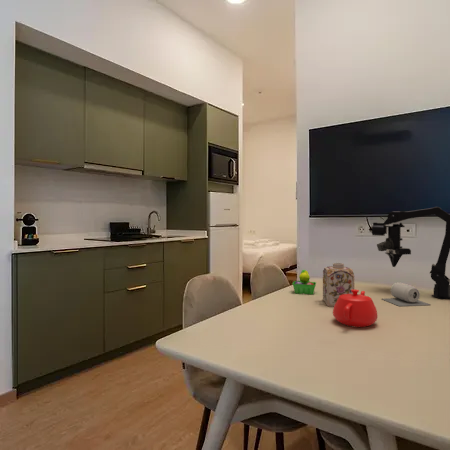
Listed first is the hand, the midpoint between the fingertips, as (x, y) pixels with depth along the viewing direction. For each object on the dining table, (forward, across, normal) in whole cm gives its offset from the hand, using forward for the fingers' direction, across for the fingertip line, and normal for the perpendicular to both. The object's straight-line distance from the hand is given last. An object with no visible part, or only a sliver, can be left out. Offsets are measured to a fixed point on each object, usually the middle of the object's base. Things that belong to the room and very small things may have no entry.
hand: (393, 266), depth 180 cm
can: (+9, +11, -6) cm, 16 cm away
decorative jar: (+13, +17, -38) cm, 44 cm away
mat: (+13, +20, -7) cm, 24 cm away
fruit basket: (+13, -6, -45) cm, 47 cm away
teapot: (+13, +44, -44) cm, 64 cm away
